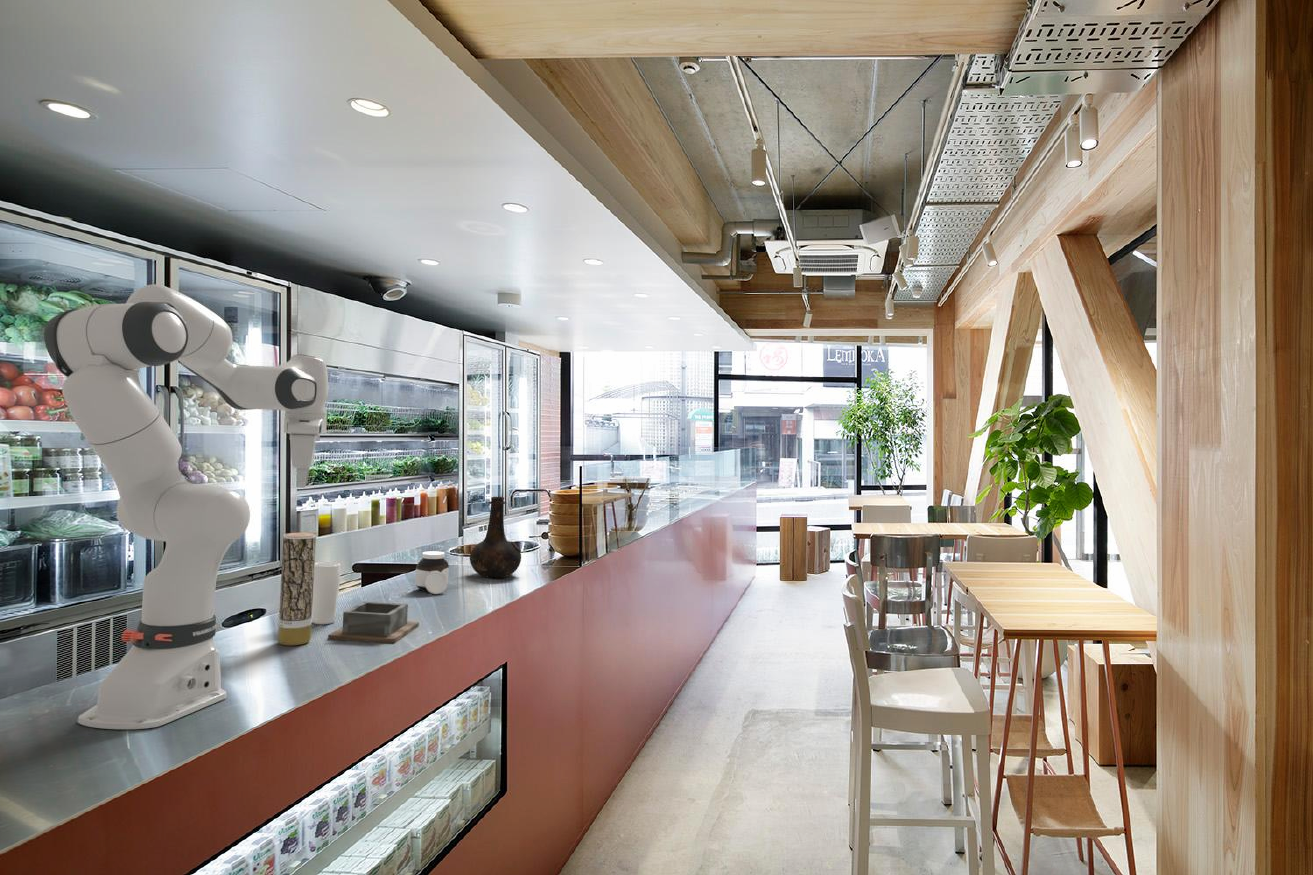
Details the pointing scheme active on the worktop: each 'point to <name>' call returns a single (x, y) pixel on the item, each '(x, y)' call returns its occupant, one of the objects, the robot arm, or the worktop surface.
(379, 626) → the grey square open box
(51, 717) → the worktop surface
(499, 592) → the worktop surface
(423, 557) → the spread jar
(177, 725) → the worktop surface
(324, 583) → the drinking glass
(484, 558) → the dark brown vase
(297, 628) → the paper tube
